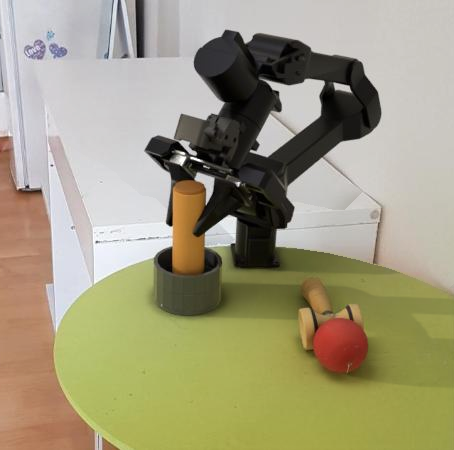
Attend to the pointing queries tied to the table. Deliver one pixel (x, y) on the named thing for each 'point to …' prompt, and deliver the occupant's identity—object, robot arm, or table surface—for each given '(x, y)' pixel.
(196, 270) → the orange tall cylinder
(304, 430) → the table surface
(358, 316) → the kendama
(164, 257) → the pot
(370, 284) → the table surface
